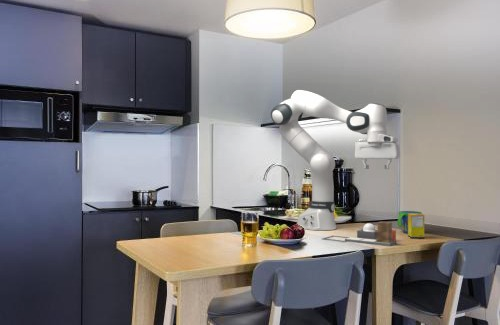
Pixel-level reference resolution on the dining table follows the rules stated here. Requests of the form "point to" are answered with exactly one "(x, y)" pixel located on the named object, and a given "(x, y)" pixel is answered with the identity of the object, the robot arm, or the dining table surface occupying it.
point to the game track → (368, 241)
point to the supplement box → (416, 225)
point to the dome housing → (367, 234)
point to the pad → (335, 240)
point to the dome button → (369, 227)
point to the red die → (394, 235)
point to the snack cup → (404, 220)
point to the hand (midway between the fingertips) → (376, 168)
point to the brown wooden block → (384, 232)
